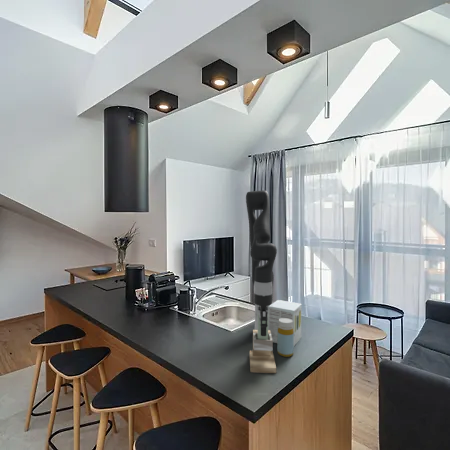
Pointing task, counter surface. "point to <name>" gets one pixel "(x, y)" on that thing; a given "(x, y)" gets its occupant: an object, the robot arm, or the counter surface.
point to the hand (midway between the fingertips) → (262, 331)
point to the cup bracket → (262, 355)
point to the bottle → (285, 337)
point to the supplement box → (284, 311)
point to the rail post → (260, 330)
